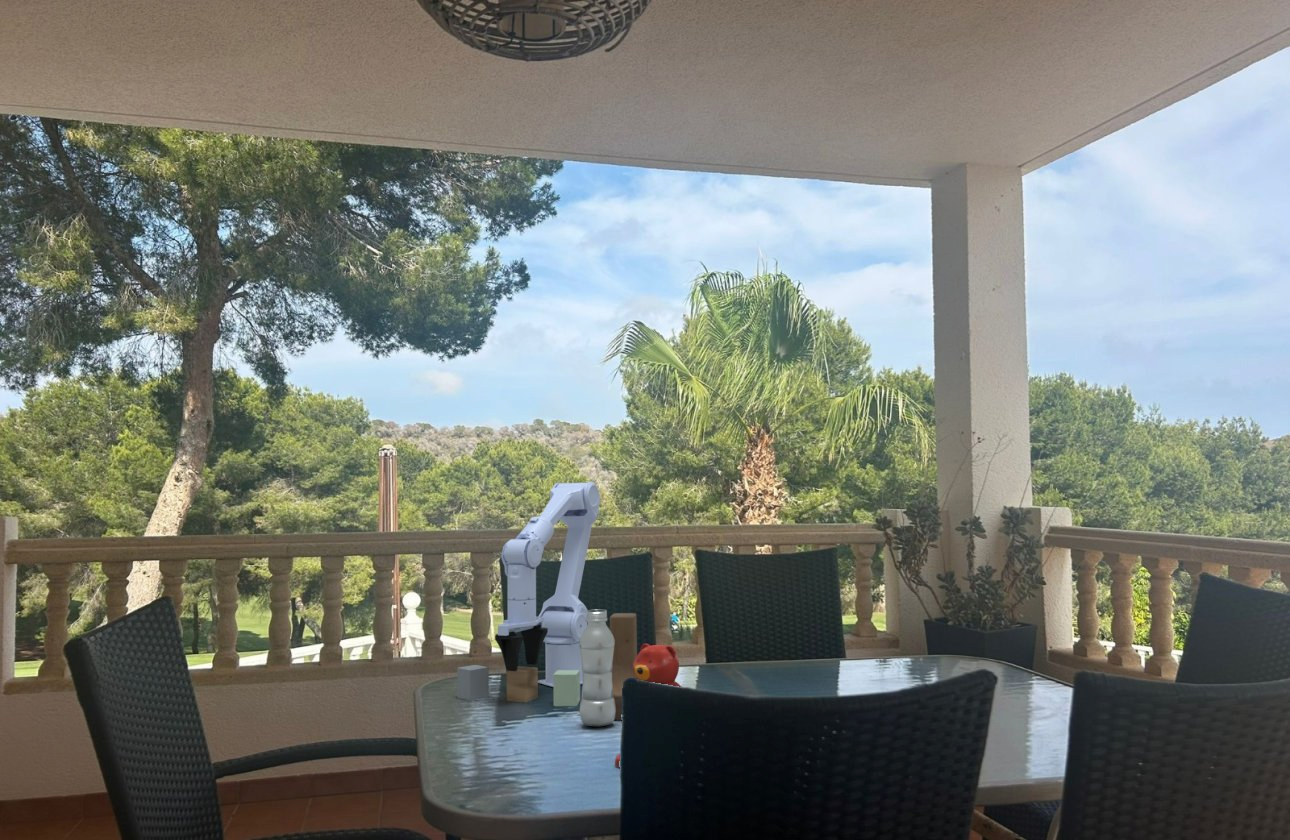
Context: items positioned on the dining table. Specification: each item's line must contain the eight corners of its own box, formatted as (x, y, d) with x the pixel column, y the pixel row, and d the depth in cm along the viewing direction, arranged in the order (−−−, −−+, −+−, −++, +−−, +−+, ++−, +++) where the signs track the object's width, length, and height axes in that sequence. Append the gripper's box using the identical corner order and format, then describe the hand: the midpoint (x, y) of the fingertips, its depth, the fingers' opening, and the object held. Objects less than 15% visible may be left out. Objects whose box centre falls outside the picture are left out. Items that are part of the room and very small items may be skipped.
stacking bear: (608, 765, 140) (607, 645, 141) (656, 752, 147) (654, 637, 148) (660, 780, 132) (657, 653, 134) (707, 765, 139) (705, 644, 141)
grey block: (475, 694, 192) (475, 664, 193) (488, 697, 189) (488, 667, 190) (457, 697, 189) (457, 667, 190) (470, 701, 186) (470, 670, 187)
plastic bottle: (618, 721, 167) (617, 608, 169) (613, 730, 161) (612, 613, 162) (583, 721, 168) (581, 608, 170) (576, 730, 161) (575, 613, 163)
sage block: (557, 701, 185) (557, 670, 185) (580, 701, 185) (579, 670, 185) (553, 706, 180) (553, 674, 181) (576, 706, 180) (576, 674, 181)
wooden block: (631, 721, 167) (629, 619, 169) (606, 720, 168) (605, 619, 169) (638, 709, 176) (636, 612, 178) (614, 709, 177) (613, 612, 178)
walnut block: (518, 696, 190) (518, 666, 190) (537, 697, 188) (537, 667, 188) (506, 700, 186) (506, 670, 186) (526, 702, 184) (525, 671, 184)
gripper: (523, 594, 197) (524, 660, 196) (484, 601, 184) (484, 672, 182) (553, 595, 194) (553, 662, 193) (515, 603, 181) (515, 674, 180)
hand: (521, 667), depth 187 cm, fingers open, 7 cm apart
